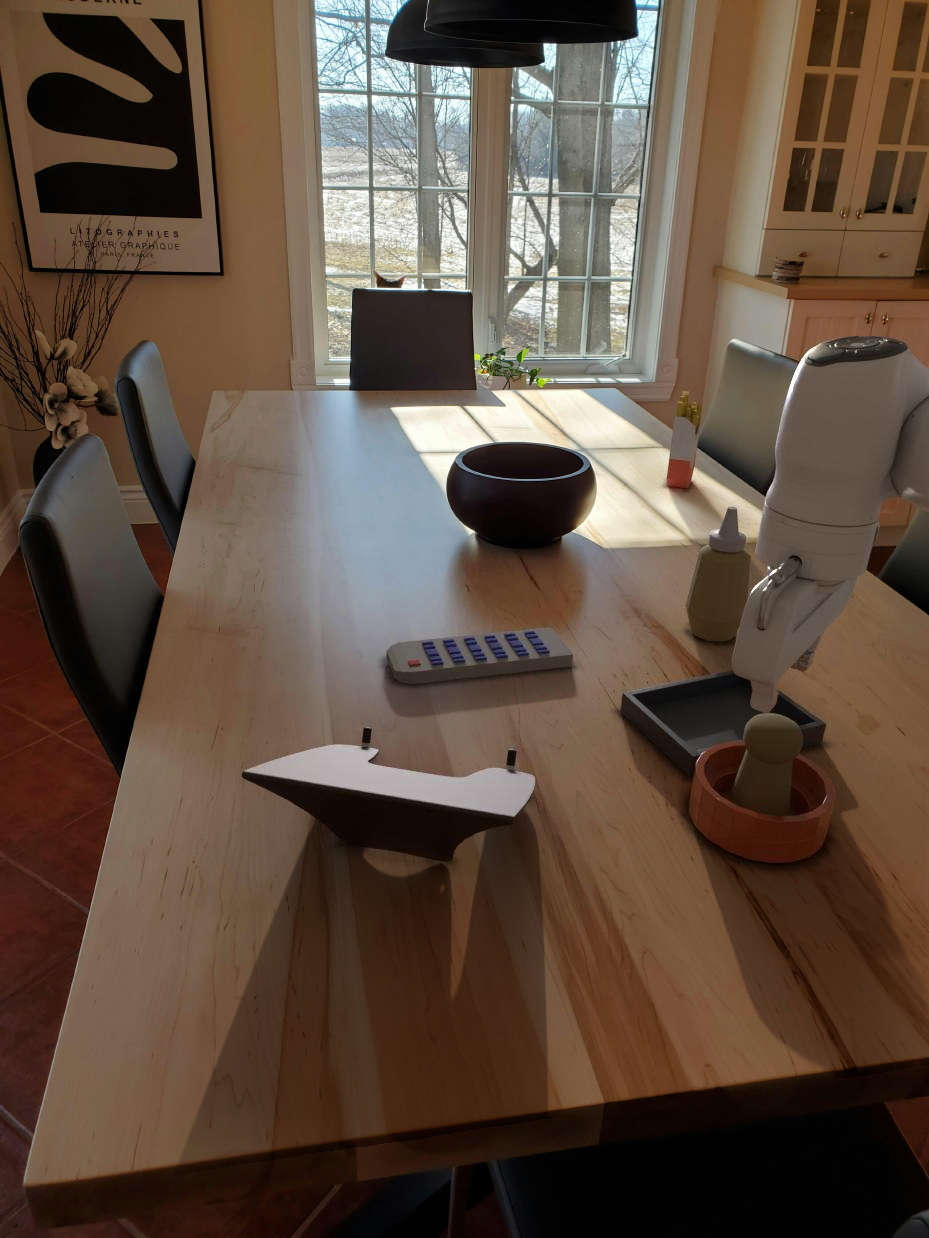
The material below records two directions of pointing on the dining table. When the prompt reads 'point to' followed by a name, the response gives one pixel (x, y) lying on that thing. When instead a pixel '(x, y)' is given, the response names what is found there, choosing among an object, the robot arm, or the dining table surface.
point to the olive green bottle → (767, 765)
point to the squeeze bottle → (720, 583)
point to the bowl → (756, 830)
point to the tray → (706, 715)
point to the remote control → (477, 655)
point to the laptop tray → (394, 798)
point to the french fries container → (684, 443)
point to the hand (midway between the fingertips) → (781, 686)
